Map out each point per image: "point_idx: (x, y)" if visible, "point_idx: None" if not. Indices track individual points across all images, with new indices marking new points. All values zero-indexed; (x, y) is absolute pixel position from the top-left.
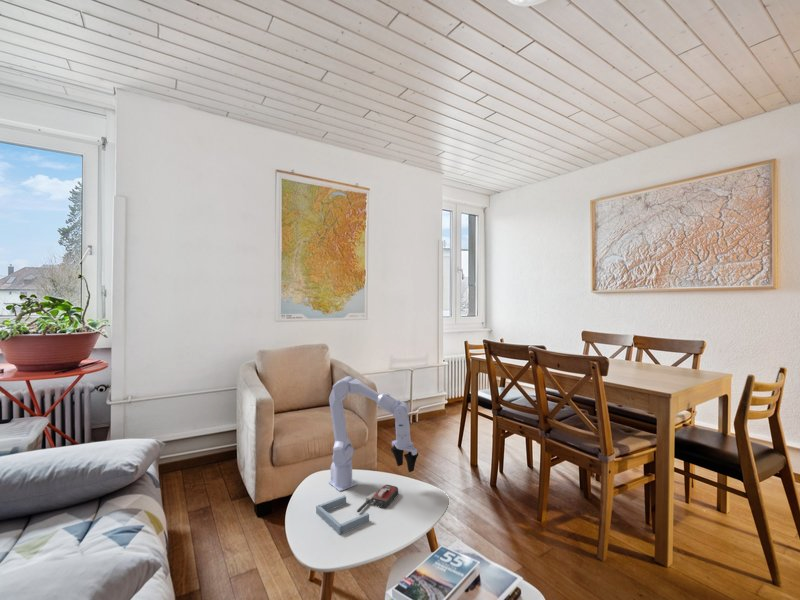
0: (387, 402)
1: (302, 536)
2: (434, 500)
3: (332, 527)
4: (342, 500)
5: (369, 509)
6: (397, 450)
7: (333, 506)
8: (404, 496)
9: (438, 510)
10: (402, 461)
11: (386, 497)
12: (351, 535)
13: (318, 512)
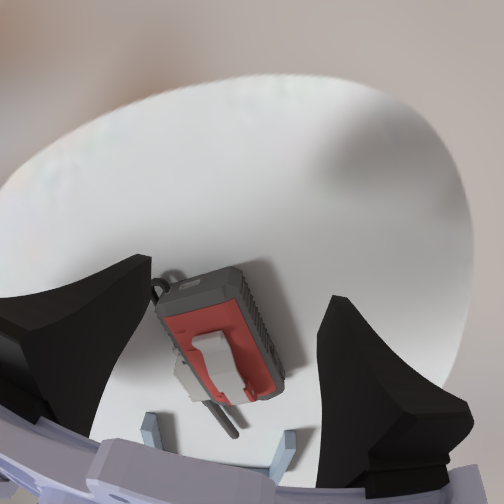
0: None
1: None
2: (426, 187)
3: None
4: (154, 433)
5: None
6: (75, 411)
7: (159, 442)
8: (279, 261)
9: (470, 246)
10: (137, 269)
11: (266, 381)
12: (300, 464)
13: None
